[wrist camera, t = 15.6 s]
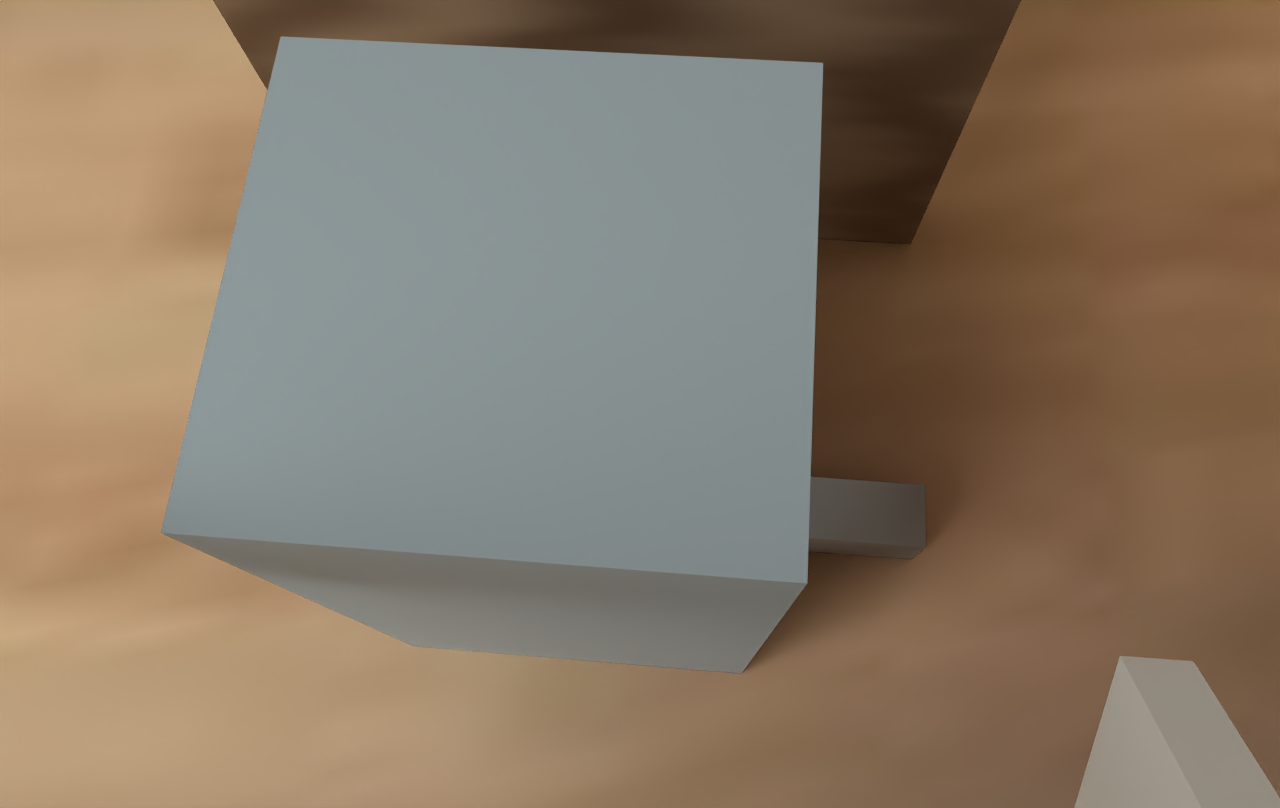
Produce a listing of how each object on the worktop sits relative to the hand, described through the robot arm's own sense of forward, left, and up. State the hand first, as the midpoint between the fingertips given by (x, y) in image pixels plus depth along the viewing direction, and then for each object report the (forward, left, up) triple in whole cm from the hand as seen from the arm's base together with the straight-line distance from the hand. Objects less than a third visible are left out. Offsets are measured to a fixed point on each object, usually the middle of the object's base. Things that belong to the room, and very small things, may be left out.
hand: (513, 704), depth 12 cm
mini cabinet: (-1, +5, -13) cm, 14 cm away
